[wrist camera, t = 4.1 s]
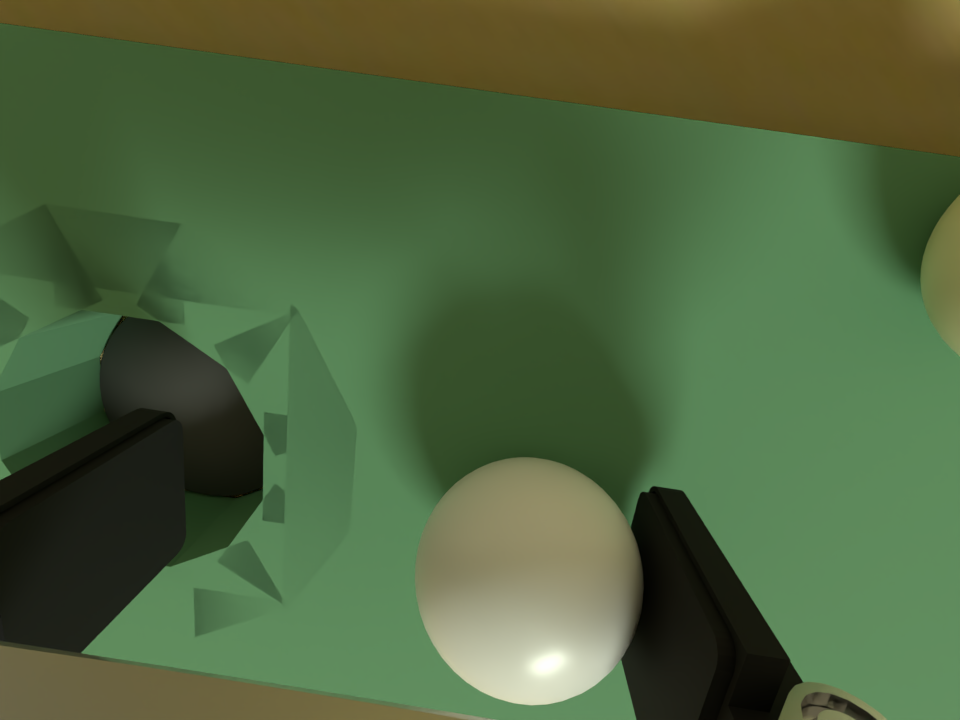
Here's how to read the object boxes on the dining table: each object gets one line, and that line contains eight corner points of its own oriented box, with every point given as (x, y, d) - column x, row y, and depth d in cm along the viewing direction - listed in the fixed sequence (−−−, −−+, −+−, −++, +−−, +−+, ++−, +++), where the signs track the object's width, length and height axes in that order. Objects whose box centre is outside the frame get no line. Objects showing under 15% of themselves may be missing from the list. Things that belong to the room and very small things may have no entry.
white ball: (719, 558, 7) (421, 539, 6) (651, 771, 8) (396, 767, 7) (619, 431, 11) (430, 413, 10) (583, 586, 12) (412, 576, 11)
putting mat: (1064, 202, 11) (1254, 197, 8) (830, 724, 16) (901, 837, 13) (-51, 45, 12) (-233, -10, 9) (31, 601, 16) (-73, 684, 13)
